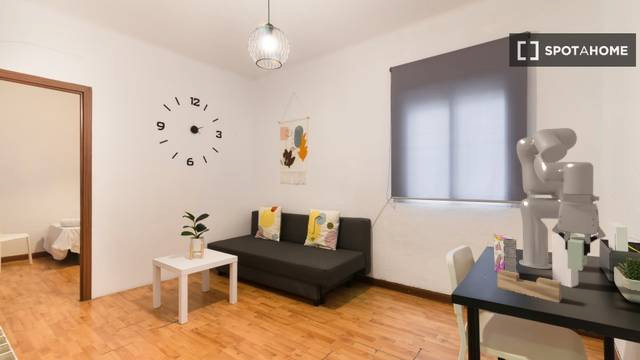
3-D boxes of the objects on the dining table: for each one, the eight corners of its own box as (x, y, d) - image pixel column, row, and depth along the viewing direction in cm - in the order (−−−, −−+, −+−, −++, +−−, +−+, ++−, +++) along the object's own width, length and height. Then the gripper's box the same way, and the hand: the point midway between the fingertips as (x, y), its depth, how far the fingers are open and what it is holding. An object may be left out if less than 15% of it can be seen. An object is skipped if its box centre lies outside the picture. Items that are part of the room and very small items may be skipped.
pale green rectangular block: (573, 260, 103) (573, 235, 103) (586, 263, 101) (586, 237, 100) (567, 268, 96) (567, 241, 96) (581, 270, 93) (581, 243, 93)
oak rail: (500, 285, 111) (500, 269, 111) (561, 299, 97) (561, 281, 98) (497, 287, 109) (497, 271, 109) (559, 302, 95) (558, 284, 95)
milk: (578, 284, 111) (578, 227, 111) (571, 287, 108) (571, 228, 108) (559, 280, 117) (559, 225, 117) (551, 282, 114) (551, 226, 114)
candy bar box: (493, 270, 129) (493, 233, 129) (505, 271, 128) (505, 234, 128) (503, 279, 118) (503, 238, 118) (517, 279, 117) (517, 239, 117)
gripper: (613, 199, 94) (613, 256, 94) (549, 197, 106) (549, 247, 107) (611, 201, 89) (611, 261, 89) (544, 198, 101) (544, 251, 102)
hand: (577, 253), depth 98 cm, fingers closed on pale green rectangular block, 3 cm apart
